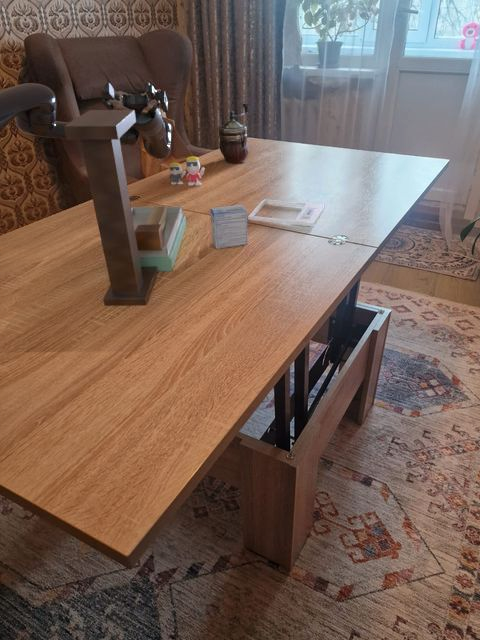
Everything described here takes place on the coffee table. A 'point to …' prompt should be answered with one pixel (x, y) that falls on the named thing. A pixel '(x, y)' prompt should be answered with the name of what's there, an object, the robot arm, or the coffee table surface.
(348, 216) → the coffee table surface
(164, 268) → the open plastic tray
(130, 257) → the tall wooden post
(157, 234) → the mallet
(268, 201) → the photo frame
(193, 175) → the toy figures
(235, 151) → the coffee grinder
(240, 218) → the medicine box
